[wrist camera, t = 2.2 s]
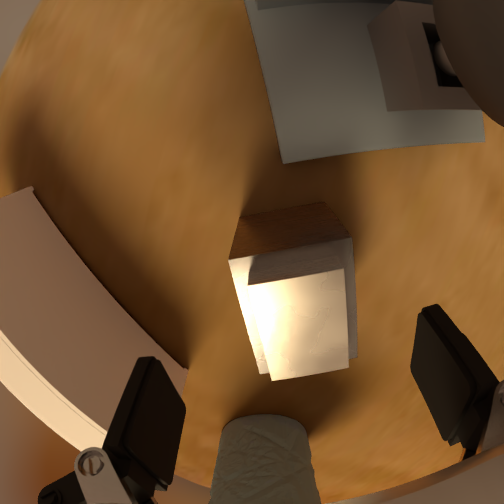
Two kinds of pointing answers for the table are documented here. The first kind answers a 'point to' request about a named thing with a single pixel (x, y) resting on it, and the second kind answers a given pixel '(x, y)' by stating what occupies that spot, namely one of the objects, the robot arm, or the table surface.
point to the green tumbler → (264, 463)
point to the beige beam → (63, 329)
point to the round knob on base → (473, 49)
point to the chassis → (357, 77)
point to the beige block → (296, 290)
